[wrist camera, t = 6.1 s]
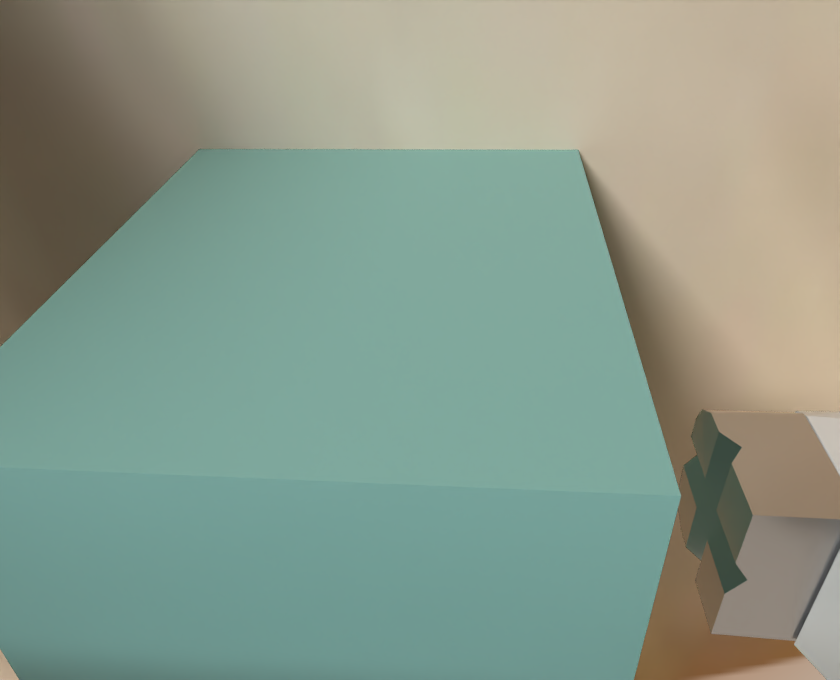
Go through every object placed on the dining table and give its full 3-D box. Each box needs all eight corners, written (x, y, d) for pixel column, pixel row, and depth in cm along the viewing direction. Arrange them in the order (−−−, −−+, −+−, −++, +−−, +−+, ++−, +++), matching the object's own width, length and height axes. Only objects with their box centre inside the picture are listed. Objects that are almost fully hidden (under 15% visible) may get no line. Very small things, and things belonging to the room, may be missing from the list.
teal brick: (577, 148, 9) (682, 495, 4) (548, 439, 12) (588, 853, 7) (200, 148, 9) (-116, 462, 5) (258, 428, 12) (101, 811, 7)
